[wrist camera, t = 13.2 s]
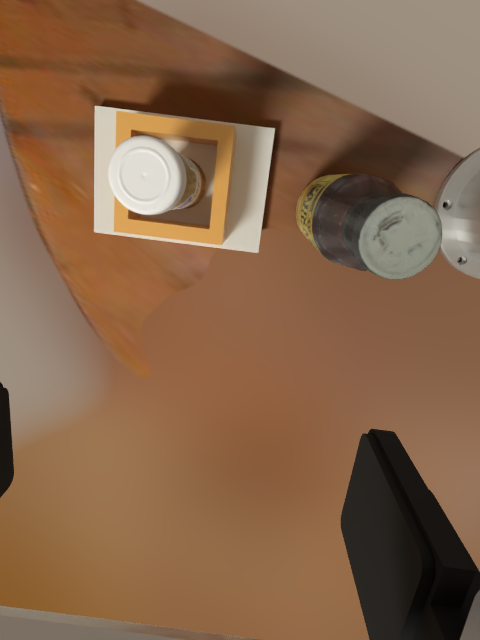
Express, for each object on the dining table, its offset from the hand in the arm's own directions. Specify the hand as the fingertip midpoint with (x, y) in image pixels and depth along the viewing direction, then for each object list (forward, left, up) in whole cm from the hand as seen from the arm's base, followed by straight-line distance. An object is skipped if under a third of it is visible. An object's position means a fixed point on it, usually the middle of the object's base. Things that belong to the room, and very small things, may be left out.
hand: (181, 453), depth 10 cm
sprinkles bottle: (+6, -7, -30) cm, 31 cm away
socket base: (+6, -7, -30) cm, 32 cm away
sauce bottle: (-8, -6, -31) cm, 32 cm away
